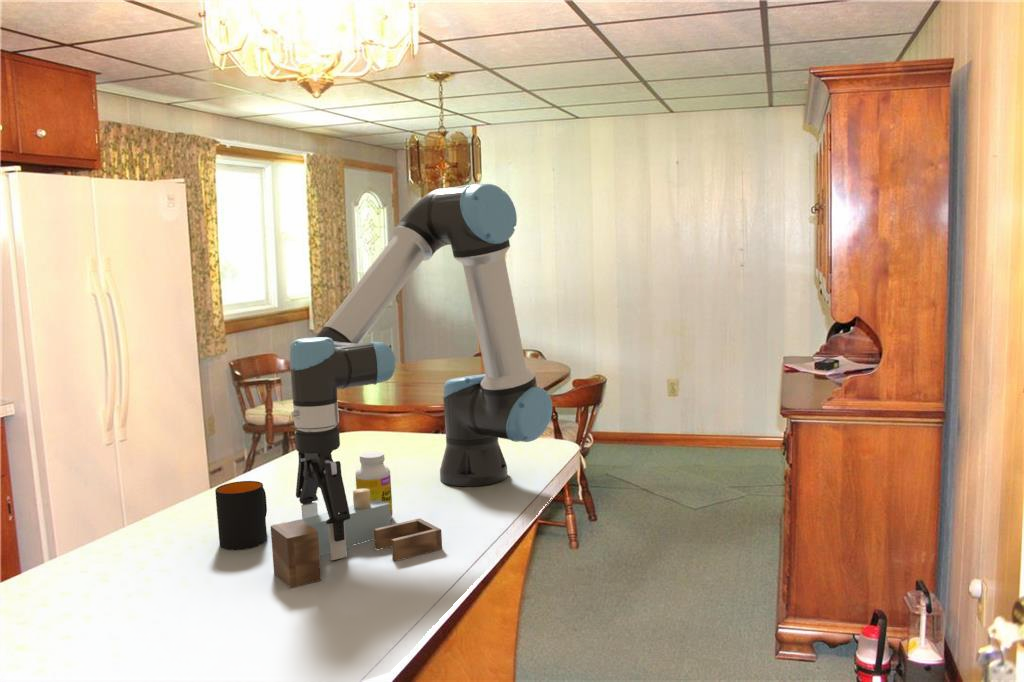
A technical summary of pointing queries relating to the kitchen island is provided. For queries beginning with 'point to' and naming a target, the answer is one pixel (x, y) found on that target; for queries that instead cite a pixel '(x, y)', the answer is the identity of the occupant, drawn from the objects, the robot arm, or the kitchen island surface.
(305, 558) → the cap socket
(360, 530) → the slat
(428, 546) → the brown wooden u-shaped frame
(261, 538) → the mug
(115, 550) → the kitchen island surface
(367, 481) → the supplement bottle
